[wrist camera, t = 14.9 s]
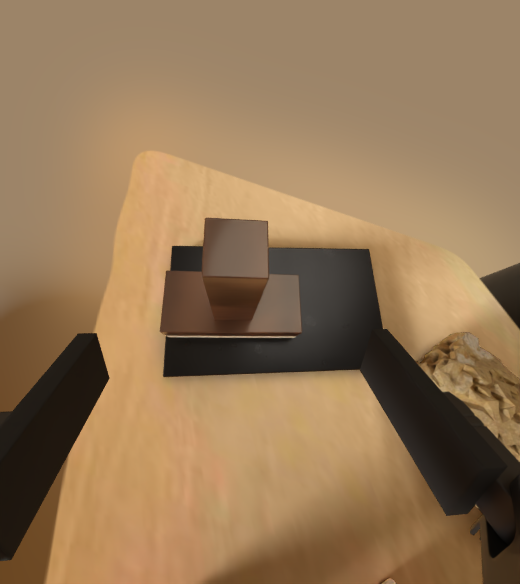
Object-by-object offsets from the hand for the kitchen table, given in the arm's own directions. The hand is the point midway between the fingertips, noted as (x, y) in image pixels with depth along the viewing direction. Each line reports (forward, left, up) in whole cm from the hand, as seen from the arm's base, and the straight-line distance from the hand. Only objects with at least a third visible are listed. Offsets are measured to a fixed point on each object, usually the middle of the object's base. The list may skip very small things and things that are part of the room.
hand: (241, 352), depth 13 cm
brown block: (0, -5, -10) cm, 11 cm away
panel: (-4, -5, -12) cm, 13 cm away
